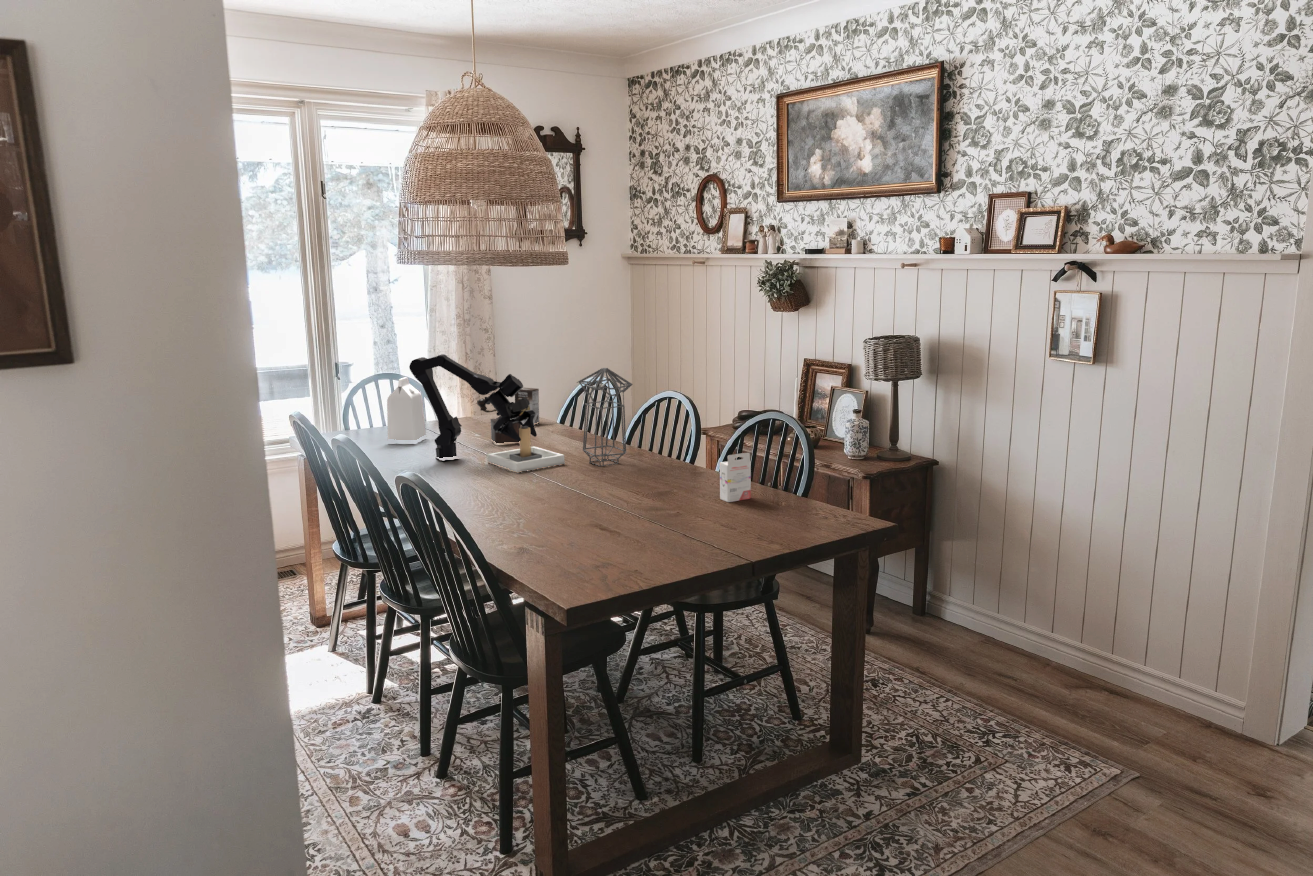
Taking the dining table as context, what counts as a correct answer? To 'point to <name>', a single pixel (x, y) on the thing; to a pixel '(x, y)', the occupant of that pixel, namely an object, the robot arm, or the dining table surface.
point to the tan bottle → (525, 441)
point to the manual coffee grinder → (494, 435)
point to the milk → (405, 412)
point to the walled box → (526, 459)
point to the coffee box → (530, 400)
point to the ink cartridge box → (735, 478)
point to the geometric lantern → (628, 384)
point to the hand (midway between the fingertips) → (528, 438)
